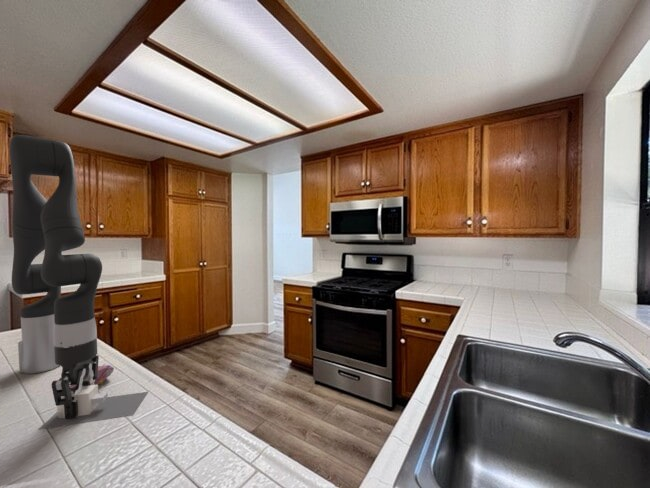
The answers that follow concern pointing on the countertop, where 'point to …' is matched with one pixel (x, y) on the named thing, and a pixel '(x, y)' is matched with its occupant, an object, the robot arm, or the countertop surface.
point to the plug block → (85, 400)
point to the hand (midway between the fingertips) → (79, 409)
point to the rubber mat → (103, 410)
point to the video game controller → (101, 374)
